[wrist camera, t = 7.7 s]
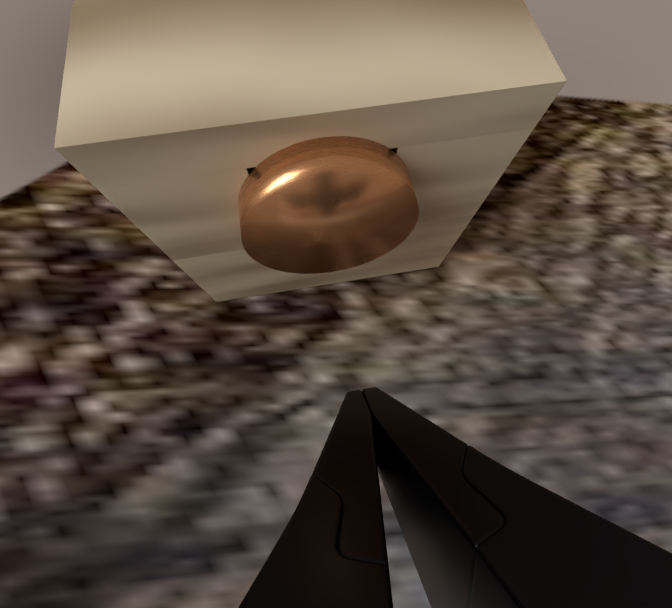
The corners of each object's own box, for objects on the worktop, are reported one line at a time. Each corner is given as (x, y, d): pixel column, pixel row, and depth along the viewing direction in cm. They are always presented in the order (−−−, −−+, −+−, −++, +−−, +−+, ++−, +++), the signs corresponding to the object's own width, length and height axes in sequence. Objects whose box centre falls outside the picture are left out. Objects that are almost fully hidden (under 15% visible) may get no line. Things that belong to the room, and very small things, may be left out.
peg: (400, 261, 13) (443, 159, 8) (262, 283, 13) (212, 192, 8) (357, 94, 16) (368, -60, 11) (244, 109, 16) (198, -43, 11)
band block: (438, 266, 18) (566, 80, 8) (216, 302, 17) (54, 147, 7) (404, 150, 20) (468, -101, 10) (209, 177, 20) (81, -63, 10)
